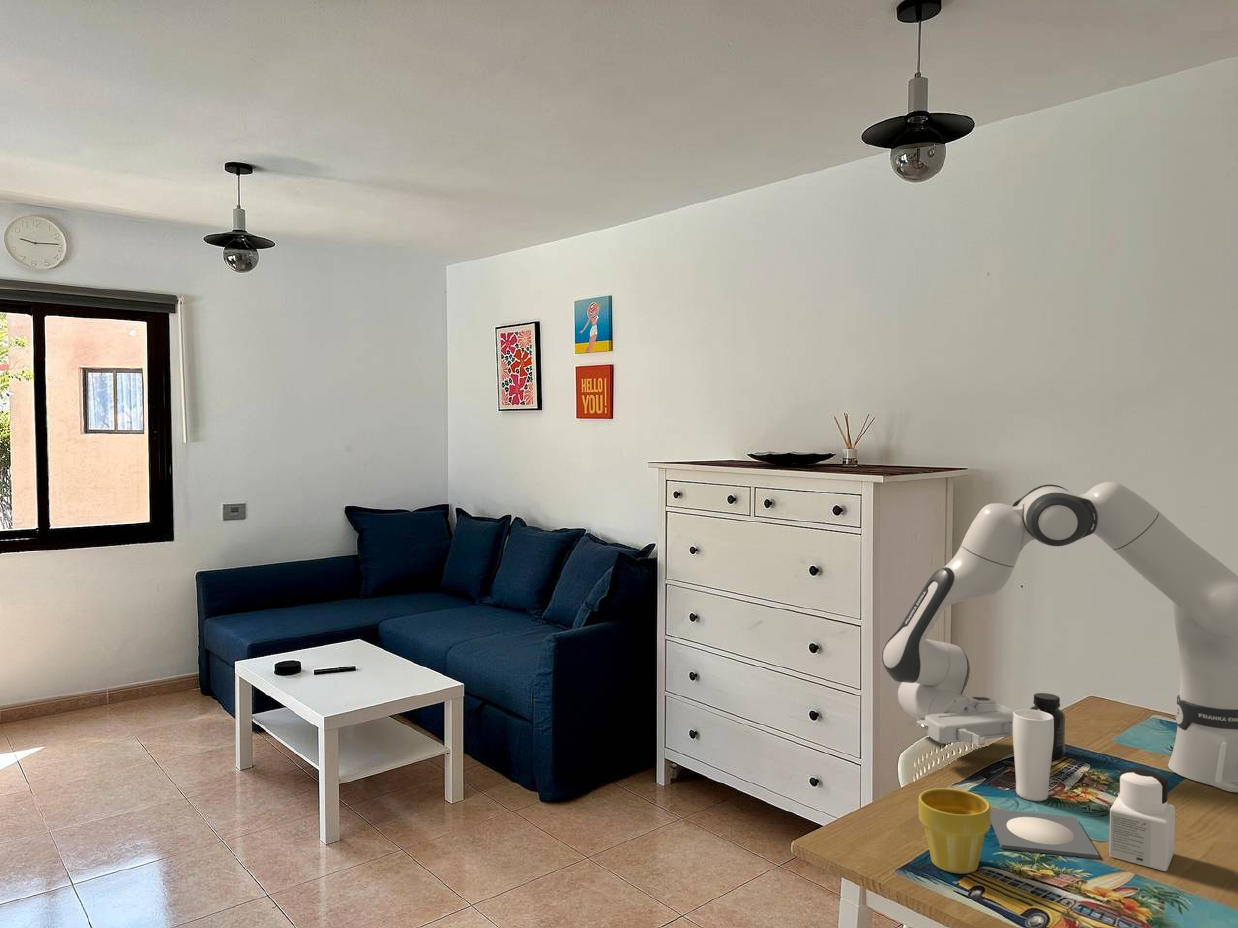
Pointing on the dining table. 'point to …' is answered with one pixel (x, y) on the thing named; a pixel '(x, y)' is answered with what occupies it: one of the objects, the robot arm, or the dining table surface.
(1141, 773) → the container
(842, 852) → the dining table surface
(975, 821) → the plant pot
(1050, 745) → the drinking glass
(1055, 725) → the supplement bottle
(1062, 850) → the mat
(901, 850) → the dining table surface
